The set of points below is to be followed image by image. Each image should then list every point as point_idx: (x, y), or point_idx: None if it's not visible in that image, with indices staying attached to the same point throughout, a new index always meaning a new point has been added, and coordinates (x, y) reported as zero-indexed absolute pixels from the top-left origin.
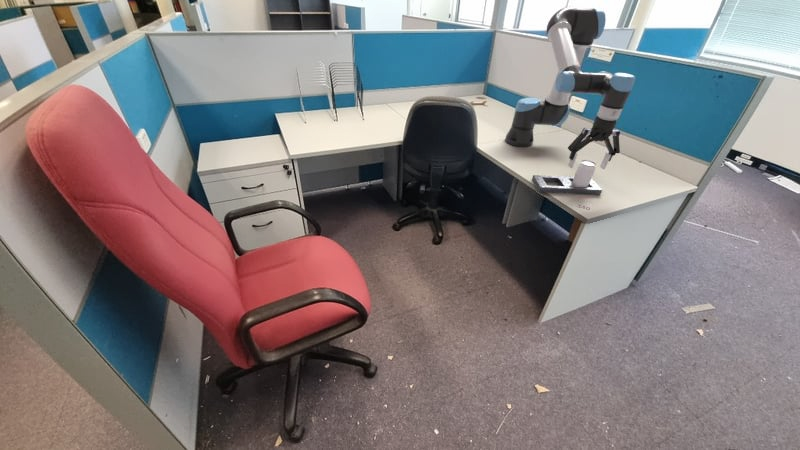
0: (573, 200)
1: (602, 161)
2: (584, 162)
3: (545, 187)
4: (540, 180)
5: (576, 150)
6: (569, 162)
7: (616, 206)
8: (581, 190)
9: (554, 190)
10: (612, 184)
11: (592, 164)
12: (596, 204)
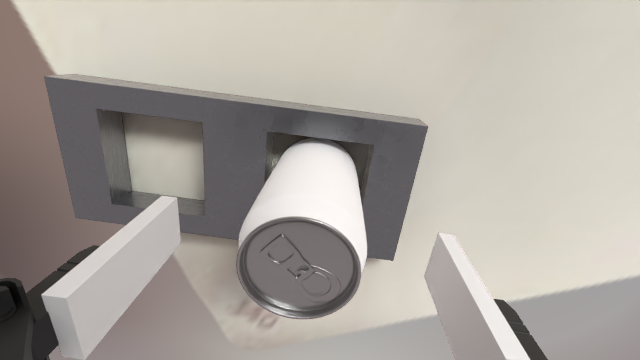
0: (236, 271)
1: (453, 269)
2: (275, 245)
3: (99, 220)
4: (83, 149)
5: None
6: (147, 214)
7: (397, 319)
8: None
9: None
10: (553, 147)
11: (329, 284)
12: None
